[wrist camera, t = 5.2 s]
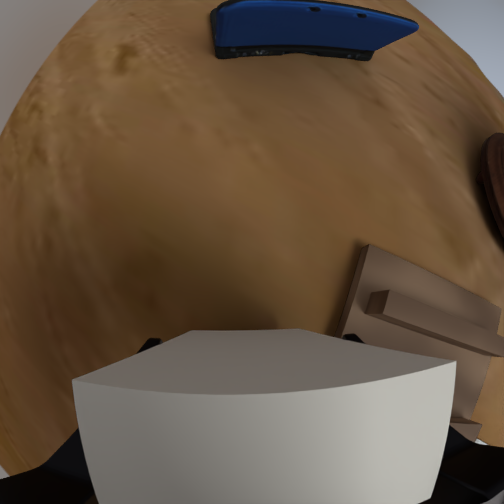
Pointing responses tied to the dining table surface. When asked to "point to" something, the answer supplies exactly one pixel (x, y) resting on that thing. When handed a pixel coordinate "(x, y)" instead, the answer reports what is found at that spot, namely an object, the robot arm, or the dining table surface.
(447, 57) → the dining table surface
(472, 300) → the rack
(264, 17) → the handheld game console
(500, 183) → the wooden spool holder
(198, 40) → the dining table surface
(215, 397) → the cream rectangular block
